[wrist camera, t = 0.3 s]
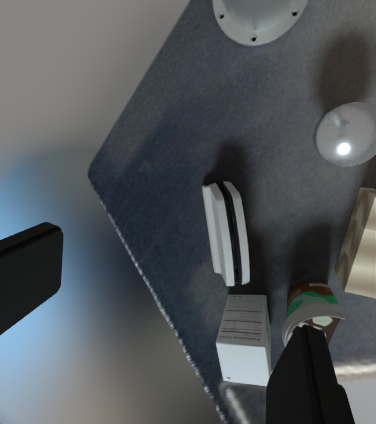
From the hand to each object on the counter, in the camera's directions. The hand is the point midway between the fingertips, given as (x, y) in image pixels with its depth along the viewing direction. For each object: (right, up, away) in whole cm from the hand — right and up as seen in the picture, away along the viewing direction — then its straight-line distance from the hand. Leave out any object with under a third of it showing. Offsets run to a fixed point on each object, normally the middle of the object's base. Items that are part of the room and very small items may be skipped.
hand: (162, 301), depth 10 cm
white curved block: (+8, +1, +36) cm, 37 cm away
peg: (+22, +14, +26) cm, 37 cm away
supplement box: (+13, -15, +39) cm, 44 cm away
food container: (+21, -12, +36) cm, 43 cm away
